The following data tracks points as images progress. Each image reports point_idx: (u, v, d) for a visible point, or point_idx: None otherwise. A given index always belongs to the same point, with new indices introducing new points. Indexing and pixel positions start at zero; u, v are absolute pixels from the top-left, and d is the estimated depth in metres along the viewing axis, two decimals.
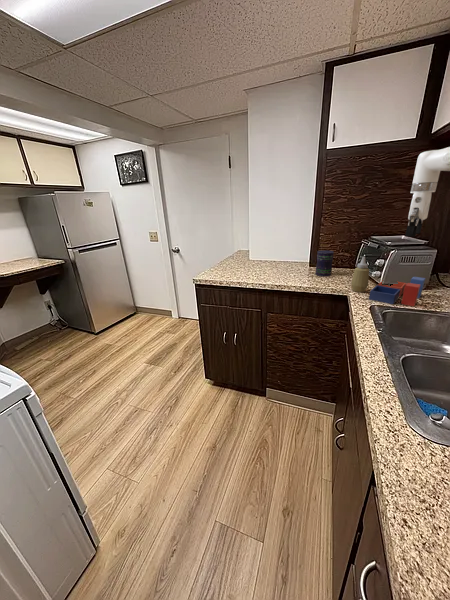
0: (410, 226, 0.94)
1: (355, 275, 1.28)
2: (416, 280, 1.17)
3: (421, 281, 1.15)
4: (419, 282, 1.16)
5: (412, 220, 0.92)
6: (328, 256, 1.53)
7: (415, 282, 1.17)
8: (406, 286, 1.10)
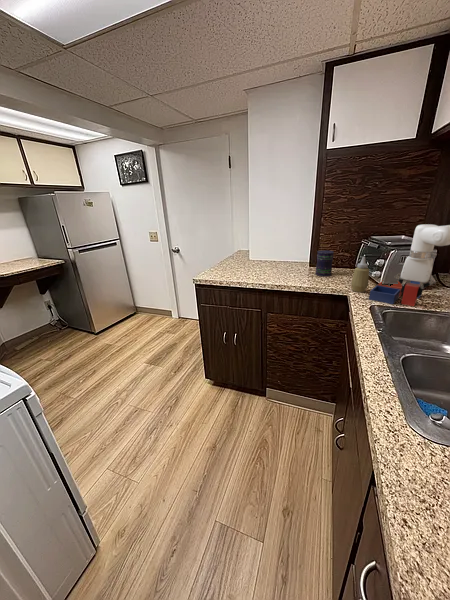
0: (422, 288, 1.07)
1: (355, 275, 1.28)
2: None
3: None
4: (419, 282, 1.16)
5: None
6: (328, 256, 1.53)
7: (415, 282, 1.17)
8: (406, 286, 1.10)
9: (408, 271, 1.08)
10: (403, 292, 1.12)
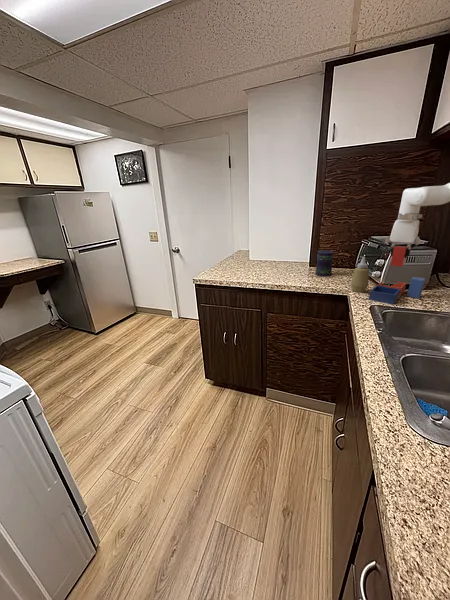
0: (410, 249, 1.16)
1: (355, 275, 1.28)
2: (416, 280, 1.17)
3: (421, 281, 1.15)
4: (419, 282, 1.16)
5: (416, 244, 1.14)
6: (328, 256, 1.53)
7: (415, 282, 1.17)
8: (395, 248, 1.18)
9: (396, 234, 1.16)
10: (392, 254, 1.20)
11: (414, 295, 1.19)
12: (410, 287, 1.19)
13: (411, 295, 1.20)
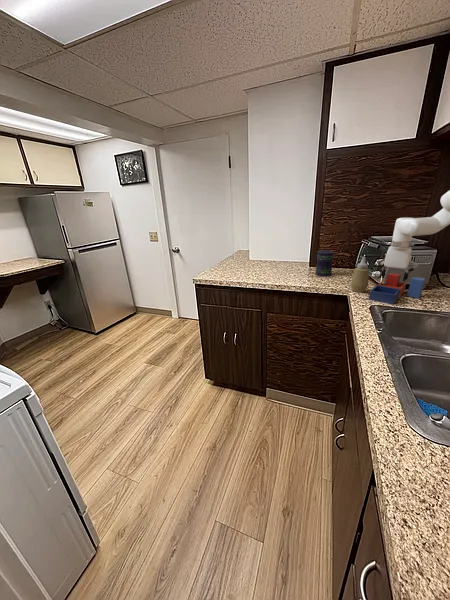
0: (408, 273, 1.20)
1: (355, 275, 1.28)
2: (416, 280, 1.17)
3: (421, 281, 1.15)
4: (419, 282, 1.16)
5: None
6: (328, 256, 1.53)
7: (415, 282, 1.17)
8: (388, 275, 1.24)
9: (390, 259, 1.22)
10: (383, 276, 1.27)
11: (414, 295, 1.19)
12: (410, 287, 1.19)
13: (411, 295, 1.20)
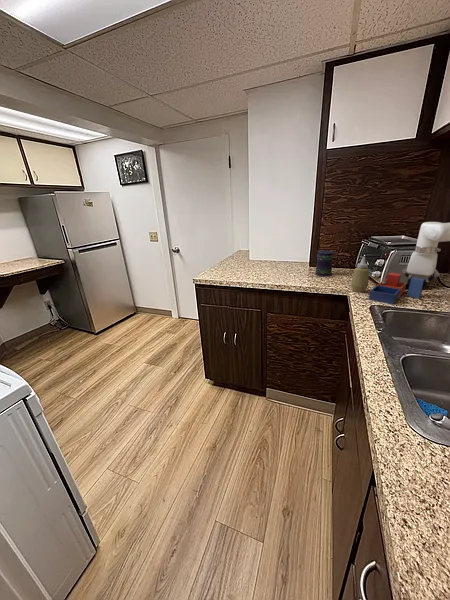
0: (427, 281, 1.15)
1: (355, 275, 1.28)
2: (416, 280, 1.17)
3: (421, 281, 1.15)
4: (419, 282, 1.16)
5: (434, 277, 1.14)
6: (328, 256, 1.53)
7: (415, 282, 1.17)
8: (388, 275, 1.24)
9: (414, 266, 1.16)
10: (409, 285, 1.20)
11: (414, 295, 1.19)
12: (410, 287, 1.19)
13: (411, 295, 1.20)
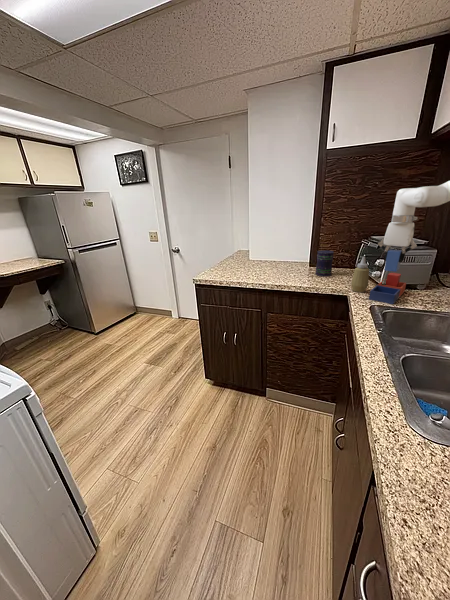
0: (404, 253, 1.09)
1: (355, 275, 1.28)
2: (393, 252, 1.10)
3: (398, 253, 1.09)
4: (396, 254, 1.10)
5: (411, 248, 1.07)
6: (328, 256, 1.53)
7: (392, 254, 1.11)
8: (388, 275, 1.24)
9: (390, 237, 1.09)
10: None
11: (391, 269, 1.12)
12: (387, 260, 1.13)
13: (388, 269, 1.13)
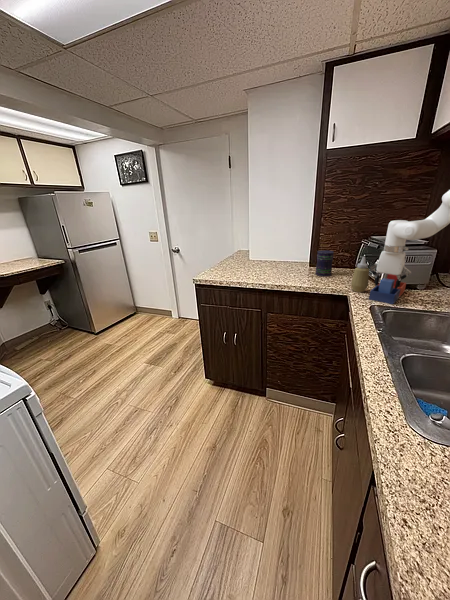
0: (400, 280, 1.12)
1: (355, 275, 1.28)
2: (385, 282, 1.15)
3: (390, 283, 1.14)
4: (388, 284, 1.14)
5: (406, 276, 1.10)
6: (328, 256, 1.53)
7: (384, 284, 1.15)
8: (388, 275, 1.24)
9: (383, 265, 1.14)
10: (376, 283, 1.19)
11: None
12: (379, 289, 1.17)
13: None
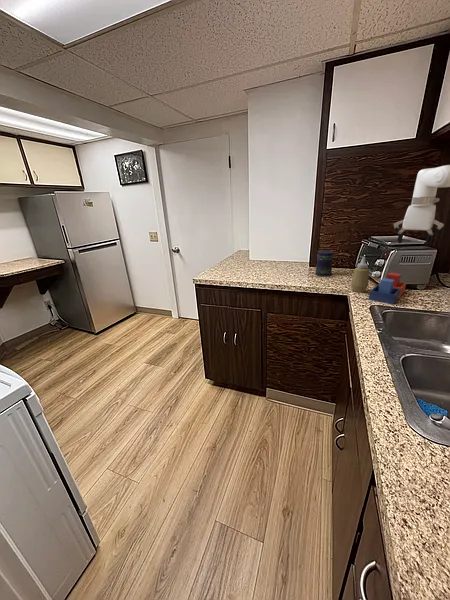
0: None
1: (355, 275, 1.28)
2: (385, 282, 1.15)
3: (390, 283, 1.14)
4: (388, 284, 1.14)
5: (439, 229, 1.01)
6: (328, 256, 1.53)
7: (384, 284, 1.15)
8: (388, 275, 1.24)
9: (410, 220, 1.05)
10: (400, 240, 1.10)
11: None
12: (379, 289, 1.17)
13: None
